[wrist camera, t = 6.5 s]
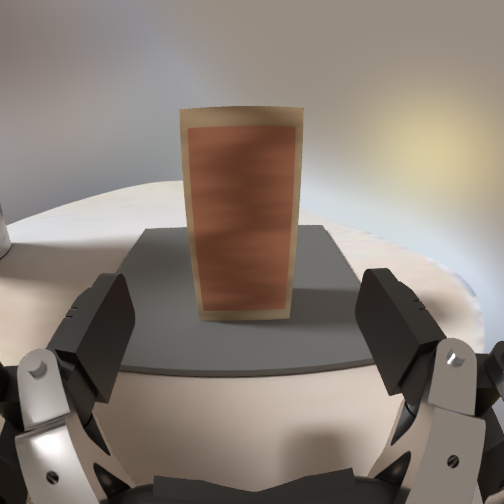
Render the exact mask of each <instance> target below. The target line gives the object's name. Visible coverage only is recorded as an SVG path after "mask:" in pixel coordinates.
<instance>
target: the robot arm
mask: <svg viewBox="0 0 504 504" xmlns="http://www.w3.org/2000/svg"><path fill="white" fill-rule="evenodd" d="M10 247H11V241H10V238H9V235H8V231H7V228H6V224H5V221H4V217H3V213H2V209H1V205H0V258H1V257H2V256H3V255H5V254H6V253H7V252H8V250H9V249H10ZM355 318H356V322H357V324H358V326H359V328H360V331H361V333H362V335H363V337H364V339H365V341H366V344H367V346H368V348H369V350H370V352H371V355H372V357H373V359H374V361H375V364H376V366H377V368H378V371H379V373H380V375H381V378H382V380H383V382H384V385H385V387H386V390H387V392H388V394H389V396H392V395H395V394H399V393H402V394H403V396H404V399H403V400H402V402H401V404H400V407H399V410H398V413H397V416H396V419H395V422H394V425H393V427H392V430H391V433H390V435H389V438H388V440H387V443H386V445H385V448H384V450H383V452H382V454H381V455H380V457H379V458H378V459H377V461H376V462H375V464H374V465H373V467H372V469H371V470H370V472H369V474H368V476H367V477H362V476H354V474H353V470H352V468H348V469H344V470H339V471H334V472H329V473H323V474H318V475H311V476H305V477H303V478H300V479H297V480H294V481H291V482H288V483H285V484H282V485H279V486H276V487H273V488H269V489H266V490H262V491H258V492H249V491H244V490H239V489H234V488H230V487H225V486H221V485H217V484H213V483H209V482H206V481H202V480H188V479H178V478H169V477H162V476H155V475H154V483H153V484H148V485H142V486H138V487H137V486H136V484H135V482H134V481H133V479H132V478H131V476H130V475H129V474H128V472H127V471H126V470H125V469H124V467H123V466H122V465H121V464H120V462H119V461H118V459H117V458H116V456H115V454H114V452H113V450H112V448H111V446H110V444H109V442H108V440H107V438H106V436H105V433H104V431H103V429H102V427H101V425H100V422H99V420H98V418H97V415H96V413H95V411H94V410H93V407H94V404H95V401H96V402H101V403H106V404H108V403H109V399H110V396H111V393H112V390H113V387H114V383H115V380H116V377H117V374H118V371H119V368H120V365H121V362H122V360H123V357H124V354H125V351H126V348H127V346H128V343H129V340H130V337H131V335H132V332H133V329H134V326H135V310H134V307H133V304H132V300H131V297H130V293H129V290H128V286H127V283H126V279H125V277H124V275H123V274H107V273H102V274H100V275H99V277H98V278H97V280H96V281H95V283H94V284H93V286H92V287H91V288H88V289H87V290H85V291H84V292H83V293H82V294H81V295H79V296H78V297H77V299H76V300H75V302H74V303H73V305H72V306H71V309H69V311H68V313H67V314H66V318H64V319H63V321H62V322H61V324H60V325H59V327H58V329H57V330H56V332H55V334H54V335H53V337H52V339H51V341H50V342H49V344H48V346H47V348H46V349H37V350H34V351H32V352H30V353H28V354H27V355H26V356H25V357H24V358H23V359H22V360H21V362H20V364H19V365H18V366H6V367H4V366H3V365H2V363H1V362H0V415H1V416H2V417H3V418H4V419H5V422H4V425H3V428H2V431H1V434H0V504H26V501H27V494H28V493H29V495H30V498H31V501H32V504H471V501H472V497H473V494H474V490H475V486H476V482H478V485H479V489H480V493H481V497H482V501H483V504H504V434H503V431H502V429H501V426H500V424H499V422H498V420H497V417H496V415H495V413H494V411H493V409H492V405H493V404H494V403H495V402H496V401H497V400H498V398H499V397H502V399H503V401H504V341H500V342H498V343H497V344H496V345H495V346H494V348H493V350H492V351H491V352H490V354H477V353H474V351H473V350H472V348H471V347H470V346H469V345H468V344H466V343H465V342H463V341H461V340H459V339H455V338H447V337H446V336H445V334H444V333H443V331H442V330H441V329H440V327H439V326H438V324H437V323H436V321H435V320H434V319H433V317H432V316H431V314H430V313H429V312H428V310H425V306H424V305H423V304H422V302H419V298H418V297H417V296H416V294H415V293H414V292H413V291H412V289H410V288H409V287H407V286H406V285H405V284H403V283H402V282H399V281H398V280H397V279H396V277H395V276H394V275H393V274H392V272H391V271H390V270H389V269H388V268H376V269H367V270H365V272H364V274H363V278H362V282H361V286H360V290H359V294H358V298H357V302H356V306H355Z"/></svg>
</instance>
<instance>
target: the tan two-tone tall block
mask: <svg viewBox="0 0 504 504" xmlns="http://www.w3.org/2000/svg"><path fill="white" fill-rule="evenodd" d="M303 110H304V108H295V107H271V106H232V107H231V106H229V107H207V108H192V109H180V135H181V153H182V154H181V155H182V170H183V185H184V197H185V209H186V219H187V229H188V239H189V248H190V256H191V265H192V273H193V280H194V288H195V295H196V302H197V309H198V315H199V321H238V320H272V319H289V317H290V308H291V299H292V289H293V279H294V268H295V257H296V245H297V232H298V218H299V201H300V185H301V167H302V144H303Z"/></svg>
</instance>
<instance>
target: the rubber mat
mask: <svg viewBox="0 0 504 504" xmlns="http://www.w3.org/2000/svg"><path fill="white" fill-rule="evenodd" d="M116 274H123V275H124V277H125V279H126V283H127V286H128V290H129V293H130V297H131V300H132V304H133V307H134V310H135V326H134V329H133V332H132V335H131V337H130V340H129V343H128V346H127V348H126V351H125V354H124V357H123V360H122V362H121V365H120V368H119V370H123V371H131V372H141V373H152V374H165V375H183V376H265V375H282V374H296V373H307V372H317V371H326V370H334V369H341V368H349V367H355V366H362V365H368V364H373V363H375V361H374V359H373V357H372V355H371V352H370V350H369V348H368V346H367V344H366V341H365V339H364V337H363V335H362V333H361V331H360V328H359V326H358V324H357V322H356V318H355V306H356V302H357V298H358V294H359V290H360V286H361V285H360V284H359V282H358V280H357V279H356V277H355V275H354V274H353V272H352V270H351V269H350V267H349V266H348V264H347V262H346V261H345V259H344V258H343V256H342V255H341V253H340V251H339V250H338V248H337V247H336V245H335V244H334V242H333V241H332V239H331V238H330V236H329V235H328V233H327V232H326V230H325V229H324V227H323V226H322V225H298V232H297V245H296V257H295V268H294V279H293V289H292V299H291V308H290V317H289V319H272V320H238V321H199V315H198V309H197V302H196V295H195V288H194V280H193V273H192V265H191V256H190V248H189V239H188V229H187V227H181V228H154V229H145V231H144V232H143V233H142V235H141V236H140V238H139V239H138V241H137V242H136V243H135V245H134V246H133V248H132V249H131V251H130V252H129V254H128V255H127V257H126V258H125V260H124V261H123V263H122V264H121V266H120V267H119V269H118V271H117V272H116Z"/></svg>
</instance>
